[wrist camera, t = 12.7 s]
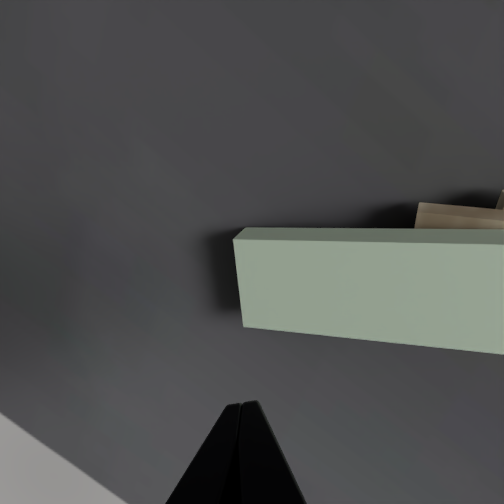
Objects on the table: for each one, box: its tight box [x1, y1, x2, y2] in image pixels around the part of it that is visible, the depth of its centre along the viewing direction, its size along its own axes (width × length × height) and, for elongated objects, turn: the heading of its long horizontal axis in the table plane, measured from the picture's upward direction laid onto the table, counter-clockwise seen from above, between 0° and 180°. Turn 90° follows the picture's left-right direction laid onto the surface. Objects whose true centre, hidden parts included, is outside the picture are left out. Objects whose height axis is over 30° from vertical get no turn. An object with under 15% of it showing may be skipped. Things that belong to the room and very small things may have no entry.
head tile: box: [233, 227, 504, 354], centre depth 15 cm, size 2×5×12 cm
